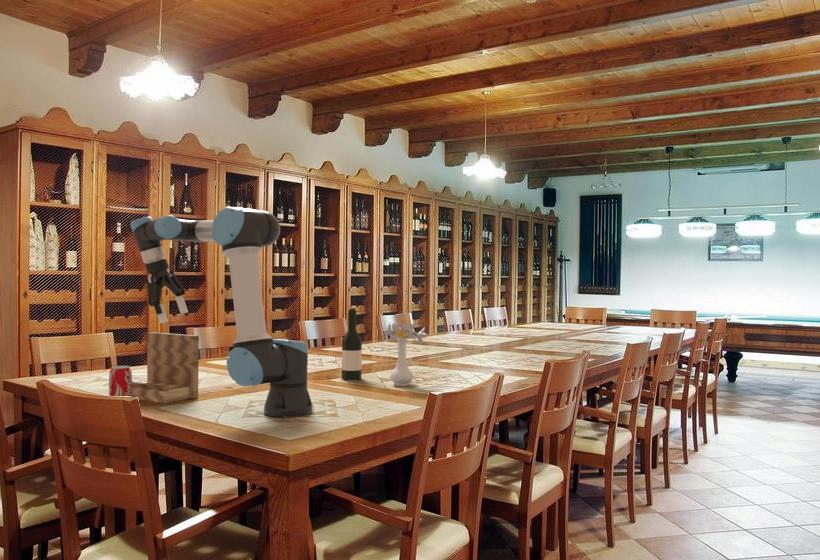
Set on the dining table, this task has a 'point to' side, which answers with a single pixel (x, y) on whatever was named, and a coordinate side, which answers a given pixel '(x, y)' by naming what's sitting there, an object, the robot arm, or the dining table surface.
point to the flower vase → (403, 351)
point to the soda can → (120, 381)
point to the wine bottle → (351, 350)
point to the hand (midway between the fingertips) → (174, 317)
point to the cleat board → (170, 368)
